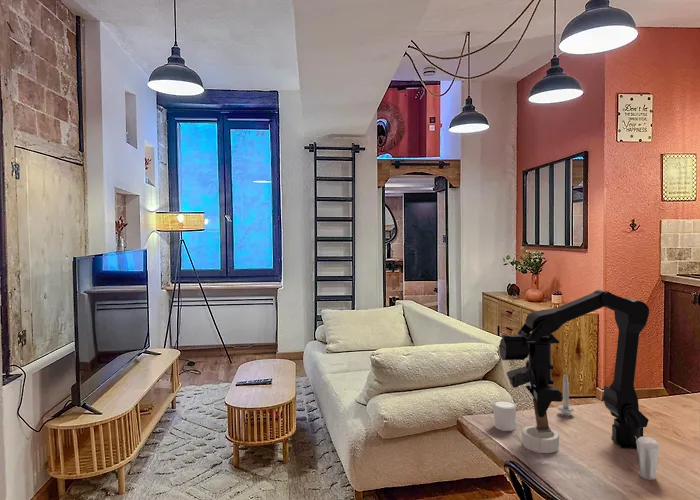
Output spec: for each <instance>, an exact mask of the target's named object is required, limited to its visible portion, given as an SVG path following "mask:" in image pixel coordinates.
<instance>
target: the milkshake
mask: <svg viewBox="0 0 700 500" xmlns="http://www.w3.org/2000/svg"><path fill="white" fill-rule="evenodd" d="M635 438H636V444H637V448H636V450H637V452H636V453H637V461H638V462H637V464H638V473H639V474H638V475H639V476H640V477H641V478H642V479H644V480H647V481H648V480H649V481H654V480H656V479H657V470H658V469H657V468H658V456H659V448H660V445H659V443H658V441H657V440H655V439H654V438H651V437H649V436H643V437H640V438H638V439H637V437H636V436H635Z"/></svg>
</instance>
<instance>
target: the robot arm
mask: <svg viewBox="0 0 700 500" xmlns="http://www.w3.org/2000/svg"><path fill="white" fill-rule="evenodd" d="M602 308H606V309H609V310H610V311H611V310H612V311H613V312H614V321H615V324H616V326H617V328H618V337H617V345H616V354H615V355H616V356H615V364H614V373H613V380H612V383H611V384H610V385H609V386H607V385H604V387H603V396H602V401H604V403H603V404H604V406H605V407H606V409H607V410H608V411H609V412H610V415H611V416H612V417H614V418H613V424H612V425H611V432H612V433H611V437H610V438H611V439H612V440H613V442H615V443H616V444H617V445H618V446H619V447H620V448H622V449H637V444H636V438H635V436H636V437H637V439H638V438H640V437H644V428H647V426H648V423H649V419H648V417H646V415H644V414H643V412H642V411H640V408H639V396H638V395H637V392H636V389H635V378H636V369H637V368H636V367H637V360H638V359H637V358H638V350H639V340H640V334H641V332H642V331H643V330H644V328H645V327H646V325H647V324H648V323H647V322H648V320H649V317H650V308H649V306H648V305H647V304H646V303H645V301H641V300H636V299H632V298H627V297H621V296H619V295H615V294H614V293H612V292H610V291H607V290H602V289H597V290H595V291H593V292H591V293H589V294H587V295H584V296H582V297H580V298H577V299H575V300H571V301H569V302H567V303H565V304H562V305H560V306H558V307H554V308H548V309H540V310H536V311H532V312H530V313H528V314H527V315H526V318H525V322H524V324H523V325H522V327H520V329H519V330H518V332H517V334H501V339H500V340H499V345H498V350H499V351H498V352H499V357H500V359H501V360H502V361H525V359H528V360H526V361H525V366H522V367H517V368H516V369H513V370H509V371H507V372H506V377H507V378H508V381H509V384H510V385H511V387H512V388H518V387H519V386H523V385H525V384H527V385H525V386H524V387H525V389H527V390H528V392H529V393H530V395H531V396H532V400H533V399H536V404H537V409H538V414H539V417H544V415H545V413H546V412H547V411H548V409H549V407H550V405H551V404H552V402H563V392H561V391H560V389H558V388H557V387H556V386H555V385H554V383H555V382H554V380H553V378H552V370H554V365H553V364H552V344H560V340H558V339H557V338H556V337H555V336H554V334H553V333H555V332H557V331H558V330H560V328H561V327H562V326H563V325H565V324H566V323H567V322H570V321H573V320H575V319H578V318H580V317H582V316H585V315H587V314H590V313H592V312H595V311H597V310H599V309H602Z"/></svg>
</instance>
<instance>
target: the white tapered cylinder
mask: <svg viewBox="0 0 700 500" xmlns="http://www.w3.org/2000/svg"><path fill="white" fill-rule="evenodd" d="M517 407H518V406H517V404H516V403H515V402H513V401H510V400H496V401H493V402H492V409H493V419H494V427H495V429H498V430H499V431H503V432H510V431H511V432H512V431H514V430H515V429H516V417H517Z"/></svg>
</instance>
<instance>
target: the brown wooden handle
mask: <svg viewBox="0 0 700 500" xmlns="http://www.w3.org/2000/svg"><path fill="white" fill-rule="evenodd" d="M532 403H533V409H534V416H535V422H536V425H535V426H536V429H537V431H538V432H539V433H544V432H551V429H552V428H551V427H550V425H549V419H548V413H547V411H546V413H545V415H544V417H539V414H538V409H537V404H536V399H533V398H532Z"/></svg>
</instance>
